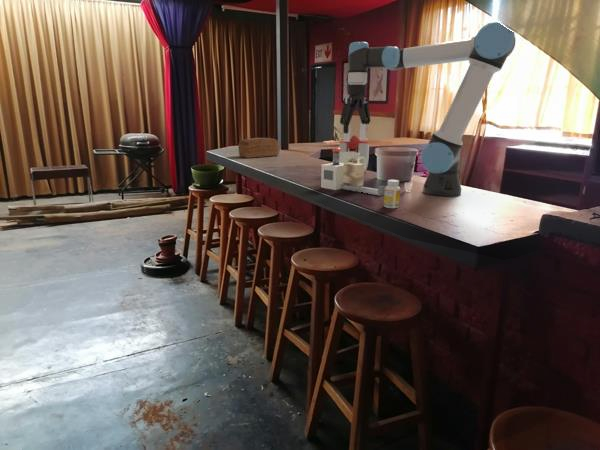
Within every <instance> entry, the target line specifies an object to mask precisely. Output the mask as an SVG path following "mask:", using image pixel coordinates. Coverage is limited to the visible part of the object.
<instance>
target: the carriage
mask: <svg viewBox="0 0 600 450" xmlns="http://www.w3.org/2000/svg"><path fill="white" fill-rule="evenodd" d="M364 176H365V174H364V164H360V163H352V162H350V163H344V168H343V185H348V186H354V187H358V186H362V187H363V186H364V179H365V177H364Z"/></svg>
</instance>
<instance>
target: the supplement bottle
mask: <svg viewBox="0 0 600 450" xmlns="http://www.w3.org/2000/svg"><path fill="white" fill-rule="evenodd" d="M386 184H387V185H386V186H385V192H384V201H383V206H384V207H385V208H387V209H396V208H399V206H400V199H401V198H400V196H401V187H400V186H399V184H400V180H399V179H388V180H387V183H386Z"/></svg>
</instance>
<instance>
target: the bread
mask: <svg viewBox="0 0 600 450" xmlns="http://www.w3.org/2000/svg"><path fill="white" fill-rule="evenodd" d="M237 146H238V156H240V157H241V158H246V159H250V158H252V159H253V158H259V157H261V158H262V157H263V158H264V157H275V156H279V155H280V150H281V149H280V146H281V145H280V142H279V141H278V140H277V139H276V138H273V137H272V138H271V137H253V138H252V137H251V138H245V139H242V140H240V141H238V144H237Z"/></svg>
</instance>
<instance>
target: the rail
mask: <svg viewBox="0 0 600 450" xmlns="http://www.w3.org/2000/svg"><path fill="white" fill-rule="evenodd" d="M385 187H386V186H385V185H380V186H378V187H377V188H373V187H366V186H363V185H362V186H358V187H354V186H348V185H343V184H341V189H340V190H347V191H350V190H351V191H350V192H356V191H357V192H356V193H361V192H363V193H362V194H367V193H368V194H369V195H374V196H378V197H381V196H385Z"/></svg>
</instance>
